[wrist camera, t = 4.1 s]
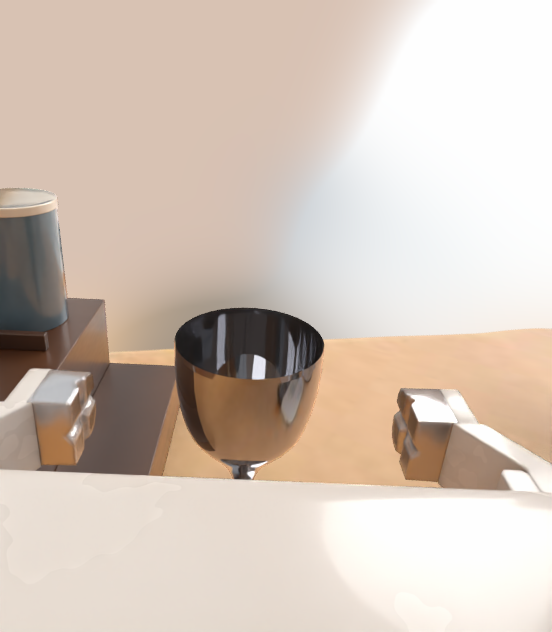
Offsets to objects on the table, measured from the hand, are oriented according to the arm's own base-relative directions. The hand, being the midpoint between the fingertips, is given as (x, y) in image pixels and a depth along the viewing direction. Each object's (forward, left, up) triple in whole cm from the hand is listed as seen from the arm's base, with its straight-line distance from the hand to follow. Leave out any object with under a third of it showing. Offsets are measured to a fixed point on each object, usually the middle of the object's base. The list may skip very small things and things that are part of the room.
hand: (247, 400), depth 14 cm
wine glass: (0, -13, -20) cm, 24 cm away
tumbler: (+17, -24, -10) cm, 31 cm away
